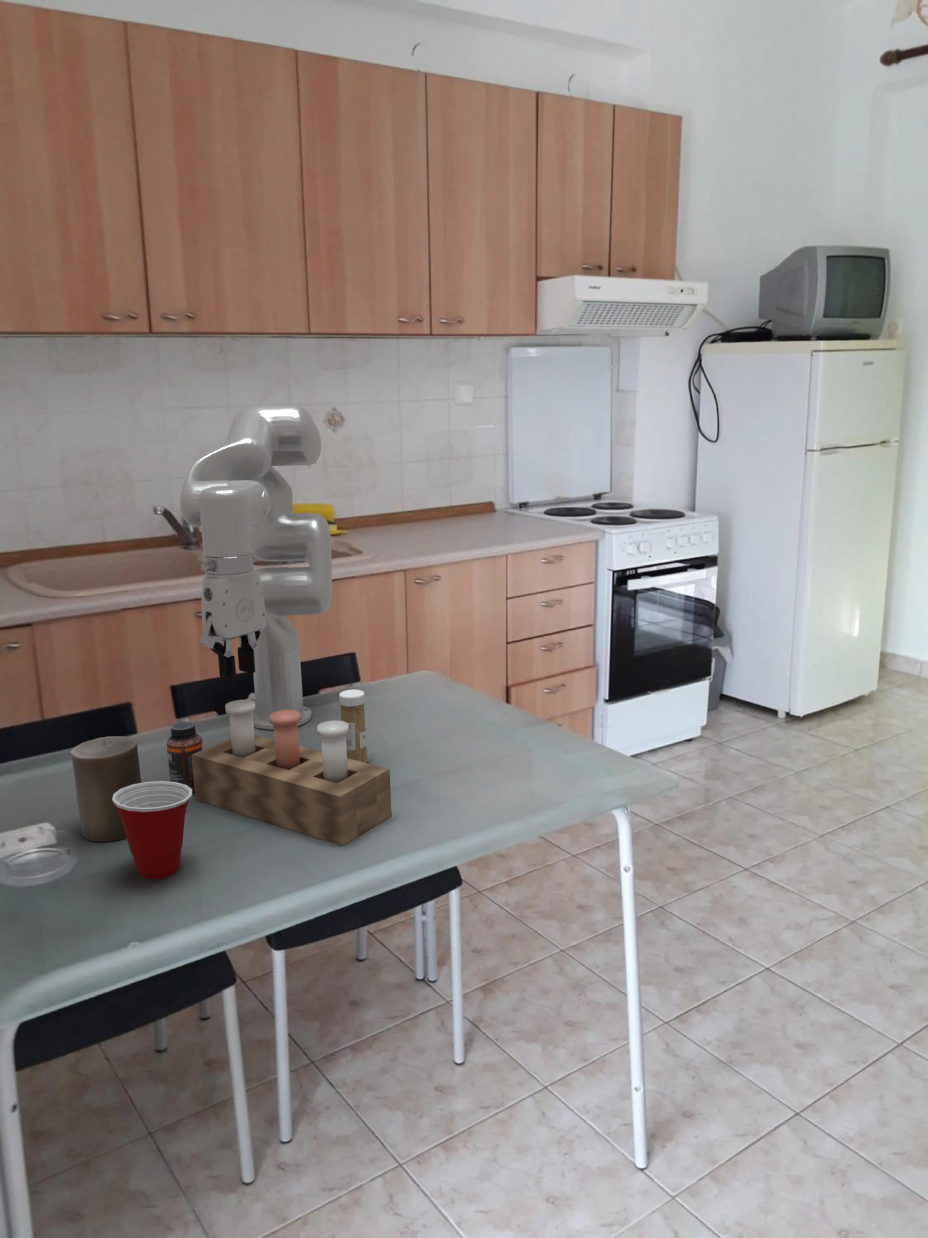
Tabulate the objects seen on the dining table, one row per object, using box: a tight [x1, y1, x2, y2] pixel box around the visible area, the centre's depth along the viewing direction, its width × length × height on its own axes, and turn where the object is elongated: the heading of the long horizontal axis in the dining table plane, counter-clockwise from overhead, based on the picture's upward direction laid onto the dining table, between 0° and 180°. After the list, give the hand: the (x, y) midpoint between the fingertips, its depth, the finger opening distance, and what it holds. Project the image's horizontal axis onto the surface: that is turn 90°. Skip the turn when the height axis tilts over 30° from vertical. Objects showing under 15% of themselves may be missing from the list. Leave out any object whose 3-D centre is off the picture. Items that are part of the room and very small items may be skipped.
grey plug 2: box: [316, 720, 349, 783], centre depth 152 cm, size 5×5×10 cm
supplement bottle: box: [166, 721, 204, 793], centre depth 167 cm, size 6×6×11 cm
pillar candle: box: [70, 735, 143, 842], centre depth 152 cm, size 10×10×15 cm
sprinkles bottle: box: [338, 689, 369, 763], centre depth 176 cm, size 5×5×14 cm
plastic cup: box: [112, 780, 193, 880], centre depth 139 cm, size 11×11×12 cm
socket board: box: [191, 734, 392, 847], centre depth 159 cm, size 32×12×8 cm, turn 57°
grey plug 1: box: [224, 699, 256, 758], centre depth 163 cm, size 5×5×10 cm
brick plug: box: [270, 710, 301, 770], centre depth 157 cm, size 5×5×10 cm
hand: (237, 674), depth 160 cm, fingers open, 3 cm apart
